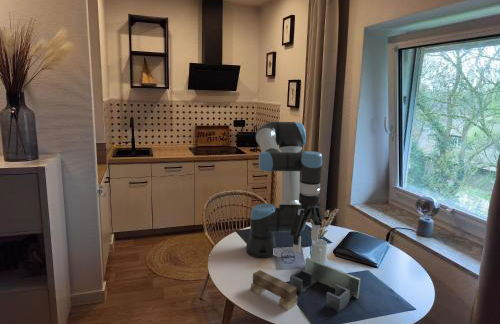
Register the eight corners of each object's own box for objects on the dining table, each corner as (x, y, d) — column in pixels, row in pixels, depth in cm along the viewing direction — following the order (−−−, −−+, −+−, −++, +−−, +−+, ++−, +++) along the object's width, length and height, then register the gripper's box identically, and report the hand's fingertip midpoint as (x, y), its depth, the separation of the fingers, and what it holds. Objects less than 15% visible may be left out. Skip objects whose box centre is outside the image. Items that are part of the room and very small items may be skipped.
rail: (252, 282, 139) (253, 273, 138) (259, 278, 142) (259, 269, 141) (289, 302, 127) (290, 292, 126) (296, 297, 130) (296, 287, 129)
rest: (250, 290, 139) (251, 283, 138) (260, 284, 143) (260, 277, 142) (287, 310, 127) (288, 303, 126) (297, 303, 131) (297, 296, 131)
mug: (309, 262, 162) (311, 238, 160) (324, 263, 162) (326, 239, 159) (310, 273, 153) (312, 248, 150) (326, 275, 152) (328, 249, 149)
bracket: (287, 287, 142) (288, 269, 140) (306, 274, 152) (307, 257, 150) (341, 313, 126) (343, 293, 124) (358, 297, 136) (360, 278, 135)
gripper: (300, 203, 119) (297, 260, 123) (333, 188, 138) (329, 238, 142) (282, 198, 123) (279, 253, 128) (316, 184, 142) (313, 233, 147)
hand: (305, 245), depth 135 cm, fingers open, 13 cm apart
